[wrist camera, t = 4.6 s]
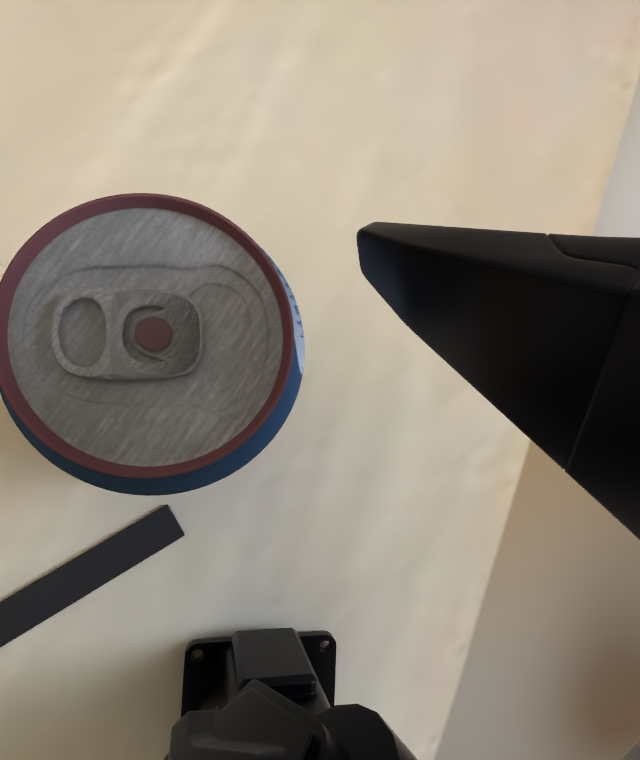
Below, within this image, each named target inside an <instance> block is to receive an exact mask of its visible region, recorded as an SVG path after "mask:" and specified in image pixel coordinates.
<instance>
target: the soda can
mask: <svg viewBox="0 0 640 760" xmlns="http://www.w3.org/2000/svg"><path fill="white" fill-rule="evenodd" d="M304 355H305V345H304V333H303V326H302V321H301V316H300V313H299V309H298V306H297V303H296V301H295V298H294V295H293V293H292V291H291V289H290V287H289V285H288V283H287V281H286V279H285V278H284V276H283V274H282V273H281V271H280V270H279V268H278V267H277V266H276V264H275V263H274V262H273V261H272V259H271V258H270V257H269V256H268V255H267V254H266V252H265V251H264V250H263V249H262V248H261V247H260V246H259V245H258V244H257V243H256V242H255V241H254V240H253V239H252V238H251V237H250V236H249V235H248V234H246V233H245V232H244V231H243V230H242V229H241V228H239V227H238V226H237V225H236V224H234V223H233V222H231V221H230V220H229V219H227V218H226V217H224V216H222V215H221V214H219V213H217V212H215V211H214V210H212V209H210V208H208V207H205V206H203V205H201V204H198V203H196V202H193V201H190V200H186V199H183V198H179V197H174V196H168V195H161V194H148V193H132V194H120V195H114V196H108V197H104V198H100V199H96V200H93V201H89V202H86V203H84V204H81V205H79V206H76V207H74V208H72V209H70V210H68V211H66V212H64V213H62V214H60V215H59V216H57V217H56V218H54V219H52V220H51V221H50V222H48V223H47V224H45V225H44V226H43V227H42V228H40V229H39V230H38V231H37V232H36V233H35V234H34V235H33V236H32V237H31V238H30V239H29V240H28V241H27V242H26V243H25V244H24V245H23V246H22V247H21V249H20V250H19V251H18V252H17V254H16V255H15V257H14V258H13V259H12V261H11V263H10V264H9V266H8V268H7V269H6V271H5V273H4V275H3V278H2V280H1V282H0V393H1V396H2V399H3V401H4V404H5V406H6V408H7V410H8V412H9V414H10V416H11V417H12V419H13V421H14V422H15V424H16V426H17V427H18V428H19V430H20V431H21V432H22V434H23V435H24V436H25V438H26V439H27V440H28V441H29V442H30V443H31V444H32V446H33V447H34V448H36V449H37V450H38V451H39V452H40V453H41V454H42V455H43V456H44V457H45V458H47V459H48V460H49V461H50V462H51V463H53V464H54V465H56V466H57V467H59V468H60V469H61V470H63V471H65V472H66V473H68V474H70V475H72V476H73V477H75V478H78V479H80V480H82V481H84V482H86V483H89V484H91V485H94V486H96V487H100V488H103V489H106V490H110V491H115V492H119V493H125V494H133V495H167V494H175V493H181V492H186V491H190V490H194V489H198V488H201V487H204V486H207V485H209V484H212V483H214V482H216V481H219V480H221V479H223V478H225V477H227V476H229V475H230V474H232V473H234V472H235V471H237V470H239V469H240V468H241V467H243V466H244V465H246V464H247V463H248V462H250V461H251V460H252V459H253V458H254V457H256V456H257V455H258V454H259V453H260V452H261V451H262V450H263V449H264V448H265V447H266V446H267V445H268V444H269V443H270V441H271V440H272V439H273V438H274V437H275V435H276V434H277V433H278V431H279V430H280V428H281V427H282V425H283V424H284V422H285V421H286V419H287V417H288V415H289V413H290V411H291V409H292V407H293V404H294V402H295V400H296V397H297V394H298V391H299V387H300V384H301V380H302V374H303V368H304Z"/></svg>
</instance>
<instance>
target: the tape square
mask: <svg viewBox="0 0 640 760" xmlns="http://www.w3.org/2000/svg"><path fill="white" fill-rule="evenodd" d="M182 536H184V533H183V531H182V529H181V527H180V526H179V524H178V522H177V520H176V519H175V517H174V515H173V513H172V512H171V510H170V508H169V506H168V505H165V506H164V507H162V508H160V509H159V510H157V511H155V512H153V513H152V514H150V515H148V516H147V517H145V518H143V519H141V520H140V521H138V522H136V523H135V524H133V525H131V526H130V527H128V528H126V529H124V530H123V531H121V532H119V533H118V534H116V535H114V536H112V537H111V538H109V539H107V540H106V541H104V542H102V543H101V544H99V545H97V546H95V547H94V548H92V549H90V550H89V551H87V552H85V553H83V554H82V555H80V556H78V557H77V558H75V559H73V560H72V561H70V562H68V563H66V564H65V565H63V566H61V567H60V568H58V569H56V570H54V571H53V572H51V573H49V574H48V575H46V576H44V577H42V578H41V579H39V580H37V581H36V582H34V583H32V584H31V585H29V586H27V587H25V588H24V589H22V590H20V591H19V592H17V593H15V594H13V595H12V596H10V597H8V598H7V599H5V600H3V601H2V602H0V647H2V646H3V645H5V644H7V643H8V642H10V641H12V640H13V639H15V638H16V637H18V636H20V635H21V634H23V633H25V632H26V631H28V630H30V629H31V628H33V627H35V626H36V625H38V624H39V623H41V622H43V621H44V620H46V619H48V618H49V617H51V616H53V615H54V614H56V613H57V612H59V611H61V610H62V609H64V608H66V607H67V606H69V605H71V604H72V603H74V602H76V601H77V600H79V599H80V598H82V597H84V596H85V595H87V594H89V593H90V592H92V591H94V590H95V589H97V588H99V587H100V586H102V585H103V584H105V583H107V582H108V581H110V580H112V579H113V578H115V577H117V576H118V575H120V574H122V573H123V572H125V571H126V570H128V569H130V568H131V567H133V566H135V565H136V564H138V563H140V562H141V561H143V560H145V559H146V558H148V557H149V556H151V555H153V554H154V553H156V552H158V551H159V550H161V549H163V548H164V547H166V546H167V545H169V544H171V543H172V542H174V541H176V540H177V539H179V538H181V537H182Z"/></svg>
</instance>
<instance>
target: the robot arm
mask: <svg viewBox="0 0 640 760" xmlns="http://www.w3.org/2000/svg"><path fill="white" fill-rule="evenodd" d="M357 246H358V254H359V261H360V267H361V271H362V273H363V275H364V276H365V278H366V279H367V280H368V281H369V282H370V284H371V285H372V286H373V287H374V288H375V289H376V291H377V292H378V293H379V294H380V295H381V296H382V298H383V299H384V300H385V301H386V302H387V303H388V305H389V306H390V307H391V308H392V309H393V310H394V312H395V313H396V314H397V315H398V316H399V317H400V319H401V320H402V321H403V322H404V323H405V324H406V325H407V326H408V327H409V328H410V329H411V330H412V331H413V332H414V333H415V334H416V335H418V336H419V337H420V338H421V339H422V340H423V341H424V342H425V343H426V344H427V345H428V346H430V347H431V348H432V349H433V350H434V351H435V352H436V353H437V354H438V355H439V356H440V357H441V358H443V359H444V360H445V361H446V362H447V363H448V364H449V365H450V366H451V367H452V368H453V369H455V370H456V371H457V372H458V373H459V374H460V375H461V376H462V377H463V378H464V379H465V380H467V381H468V382H469V383H470V384H471V385H472V386H473V387H474V388H475V389H476V390H477V391H479V392H480V393H481V394H482V395H483V396H484V397H485V398H486V399H487V400H488V401H489V402H491V403H492V404H493V405H494V406H495V407H496V408H497V409H498V410H499V411H500V412H501V413H503V414H504V415H505V416H506V417H507V418H508V419H509V420H510V421H511V422H512V423H513V424H514V425H516V426H517V427H518V428H519V429H520V430H521V431H522V432H523V433H524V434H525V435H526V436H528V437H529V438H530V439H531V440H532V441H533V442H534V443H535V444H536V445H537V446H539V447H540V448H541V449H542V450H543V451H544V452H545V453H546V454H547V455H548V456H549V457H551V458H552V459H553V460H554V461H555V462H556V463H557V464H558V465H559V466H560V467H561V468H563V469H565V472H566V473H567V474H569V475H570V476H571V477H572V478H573V479H574V480H575V481H576V482H577V483H578V484H579V485H581V486H582V487H583V488H584V489H585V490H586V491H587V492H588V493H589V494H590V495H591V496H593V497H594V498H595V499H596V500H597V501H598V502H599V503H600V504H601V505H602V506H604V507H605V508H606V509H607V510H608V511H609V512H610V513H612V515H613V516H614V517H615V518H617V519H618V520H619V521H620V522H621V523H622V524H623V525H625V527H626V528H628V529H629V530H630V531H631V532H632V533H633V534H634V535H635V536H636V537H637V538H639V540H640V238H626V237H596V236H577V235H561V234H549V235H548V236H547V235H546V234H545V233H531V232H517V231H502V230H488V229H473V228H459V227H444V226H430V225H415V224H401V223H386V222H374V223H371V224H369V225H367V226H365V227H363V228H361V229H360V230H359V231H358V232H357ZM325 640H326V641H329V643H328V645H327V646H326V647H325V648H320V644H321V643H322V642H323V641H325ZM197 649H198V650H201V651H202V652H203V654H202V655H201V656H200V657H198V658H195V657H193V656H192V655H191V654H192V652H193V651H194V650H197ZM335 665H336V641H335V639H334V638H333V636H332V634H331V633H329V632H328V631H312V632H296V631H295V630H294V629H293V628H280V629H265V630H249V631H238V632H236V633H235V634H234V635H233V636H232V637H222V638H207V639H196V640H193V641H192V642H190V643H189V644H188V646H187V647H186V651H185V660H184V676H183V692H182V708H181V719H180V720H179V721H178V722H177V723H176V724H175V725H174V726H173V727H172V734H171V743H170V752H169V753H168V754H167V755H166V756H165V758H164V760H417V758H416V757H415V756H414V755H413V754H412V753H411V751H410V750H409V749H408V748H407V747H406V746H405V744H404V743H403V742H402V741H401V740H400V739H399V737H398V736H397V735H396V734H395V733H394V732H393V730H392V729H391V728H390V727H389V726H388V725H387V723H386V722H385V721H384V720H383V719H382V718H381V716H380V715H379V714H378V713H377V712H375V711H372V710H370V709H368V708H366V707H363V706H361V705H359V704H349V705H336V706H334V693H335ZM622 760H640V742H639V743H638V744H637V745H636V746H635V747H634V748H633V749H632V750H631V751H630V752H629V753H628V754H627V755H626V756H625V757H624V758H623V759H622Z"/></svg>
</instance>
